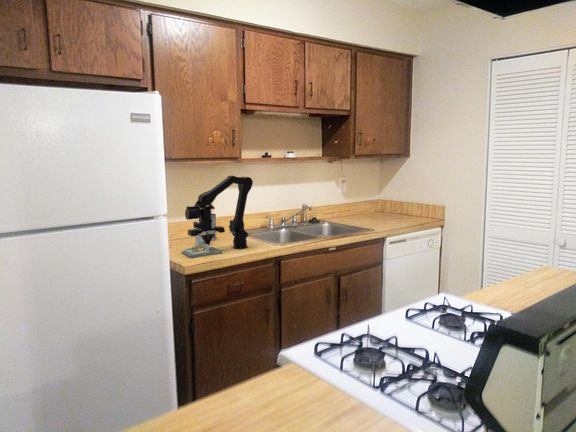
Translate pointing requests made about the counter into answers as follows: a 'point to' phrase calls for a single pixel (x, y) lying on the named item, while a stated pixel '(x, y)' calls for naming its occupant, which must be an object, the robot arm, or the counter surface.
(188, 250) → the panel
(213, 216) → the coffee box
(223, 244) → the counter surface
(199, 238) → the supplement box
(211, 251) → the board
